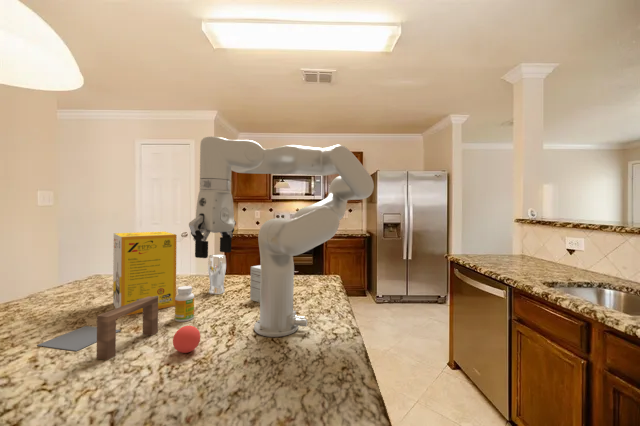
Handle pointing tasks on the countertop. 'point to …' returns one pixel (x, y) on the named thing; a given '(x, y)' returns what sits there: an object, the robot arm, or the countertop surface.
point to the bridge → (108, 319)
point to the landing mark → (74, 339)
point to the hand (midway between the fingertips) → (214, 254)
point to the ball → (186, 339)
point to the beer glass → (216, 273)
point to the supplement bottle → (184, 304)
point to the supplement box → (255, 283)
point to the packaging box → (144, 268)
